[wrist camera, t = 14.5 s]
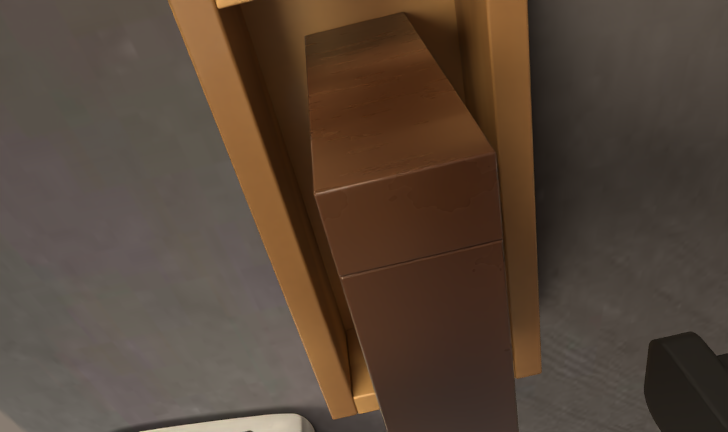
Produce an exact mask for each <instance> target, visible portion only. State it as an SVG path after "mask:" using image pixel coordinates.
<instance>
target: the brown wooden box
mask: <svg viewBox="0 0 728 432" xmlns="http://www.w3.org/2000/svg"><path fill="white" fill-rule="evenodd" d="M304 38H305V55H306V72H307V89H308V106H309V123H310V139H311V156H312V173H313V190H314V198H315V201H316V204H317V207H318V211H319V214H320V217H321V220H322V224H323V227H324V230H325V233H326V237H327V240H328V243H329V246H330V249H331V253H332V256H333V259H334V262H335V266H336V269H337V272H338V275H339V278H340V281H341V285H342V288H343V291H344V294H345V298H346V301H347V304H348V307H349V310H350V314H351V317H352V320H353V323H354V327H355V330H356V333H357V336H358V340H359V343H360V346H361V349H362V352H363V356H364V359H365V362H366V365H367V369H368V372H369V375H370V378H371V382H372V385H373V388H374V391H375V395H376V398H377V401H378V404H379V407H380V411H381V414H382V417H383V420H384V424H385V427H386V430H387V432H519V427H518V415H517V403H516V390H515V378H514V366H513V354H512V342H511V330H510V318H509V306H508V294H507V281H506V269H505V257H504V245H503V239H502V238H503V230H502V218H501V205H500V193H499V181H498V169H497V157H496V152H495V150H494V148H493V147H492V145H491V144H490V142H489V141H488V139H487V138H486V136H485V135H484V133H483V132H482V130H481V129H480V127H479V126H478V124H477V123H476V121H475V120H474V118H473V117H472V115H471V114H470V112H469V111H468V109H467V108H466V106H465V105H464V103H463V102H462V100H461V99H460V97H459V96H458V94H457V93H456V91H455V90H454V88H453V87H452V85H451V83H450V82H449V80H448V79H447V77H446V76H445V74H444V73H443V71H442V70H441V68H440V67H439V65H438V64H437V62H436V61H435V59H434V58H433V56H432V55H431V53H430V52H429V50H428V49H427V47H426V46H425V44H424V43H423V41H422V40H421V38H420V37H419V35H418V34H417V32H416V31H415V29H414V28H413V26H412V25H411V23H410V22H409V20H408V18H407V17H406V15H405V14H404V12H401V13H396V14H392V15H388V16H384V17H380V18H376V19H372V20H368V21H364V22H360V23H356V24H351V25H347V26H343V27H339V28H335V29H331V30H327V31H323V32H319V33H315V34H311V35H306V36H305V37H304Z"/></svg>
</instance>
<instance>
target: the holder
mask: <svg viewBox="0 0 728 432" xmlns="http://www.w3.org/2000/svg"><path fill="white" fill-rule="evenodd" d="M168 2H169V5H170V7H171V10H172V12H173V15H174V17H175V20H176V22H177V25H178V27H179V30H180V32H181V35H182V38H183V40H184V43H185V45H186V48H187V50H188V53H189V55H190V58H191V60H192V63H193V66H194V68H195V71H196V73H197V76H198V78H199V81H200V83H201V86H202V88H203V91H204V94H205V96H206V99H207V101H208V104H209V106H210V109H211V111H212V114H213V116H214V119H215V121H216V124H217V127H218V129H219V132H220V134H221V137H222V139H223V142H224V144H225V147H226V149H227V152H228V155H229V157H230V160H231V162H232V165H233V167H234V170H235V172H236V175H237V177H238V180H239V183H240V185H241V188H242V190H243V193H244V195H245V198H246V200H247V203H248V205H249V208H250V210H251V213H252V216H253V218H254V221H255V223H256V226H257V228H258V231H259V233H260V236H261V238H262V241H263V244H264V246H265V249H266V251H267V254H268V256H269V259H270V261H271V264H272V266H273V269H274V272H275V274H276V277H277V279H278V282H279V284H280V287H281V289H282V292H283V294H284V297H285V299H286V302H287V305H288V307H289V310H290V312H291V315H292V317H293V320H294V322H295V325H296V327H297V330H298V333H299V335H300V338H301V340H302V343H303V345H304V348H305V350H306V353H307V355H308V358H309V361H310V363H311V366H312V368H313V371H314V373H315V376H316V378H317V381H318V383H319V386H320V388H321V391H322V394H323V396H324V399H325V401H326V404H327V406H328V409H329V411H330V414H331V416H332V418H333V419H339V418H343V417H348V416H352V415H356V414H357V413H359V414H362V413H366V412H371V411H375V410H380V407H379V404H378V401H377V398H376V395H375V391H374V388H373V385H372V382H371V378H370V375H369V372H368V369H367V365H366V362H365V359H364V356H363V352H362V349H361V346H360V343H359V340H358V336H357V333H356V330H355V327H354V323H353V320H352V317H351V314H350V310H349V307H348V304H347V301H346V298H345V294H344V291H343V288H342V285H341V281H340V278H339V275H338V272H337V269H336V266H335V262H334V259H333V256H332V253H331V249H330V246H329V243H328V240H327V237H326V233H325V230H324V227H323V224H322V220H321V217H320V214H319V211H318V207H317V204H316V201H315V198H314V190H313V173H312V156H311V139H310V123H309V106H308V89H307V72H306V55H305V38H304V37H305V36H306V35H311V34H315V33H319V32H323V31H327V30H331V29H335V28H339V27H343V26H347V25H351V24H356V23H360V22H364V21H368V20H372V19H376V18H380V17H384V16H388V15H392V14H396V13H401V12H404V14H405V15H406V17H407V18H408V20H409V22H410V23H411V25H412V26H413V28H414V29H415V31H416V32H417V34H418V35H419V37H420V38H421V40H422V41H423V43H424V44H425V46H426V47H427V49H428V50H429V52H430V53H431V55H432V56H433V58H434V59H435V61H436V62H437V64H438V65H439V67H440V68H441V70H442V71H443V73H444V74H445V76H446V77H447V79H448V80H449V82H450V83H451V85H452V87H453V88H454V90H455V91H456V93H457V94H458V96H459V97H460V99H461V100H462V102H463V103H464V105H465V106H466V108H467V109H468V111H469V112H470V114H471V115H472V117H473V118H474V120H475V121H476V123H477V124H478V126H479V127H480V129H481V130H482V132H483V133H484V135H485V136H486V138H487V139H488V141H489V142H490V144H491V145H492V147H493V148H494V150H495V152H496V157H497V169H498V181H499V193H500V205H501V218H502V230H503V238H502V239H503V245H504V257H505V269H506V281H507V294H508V306H509V318H510V330H511V342H512V354H513V366H514V378H515V377H516V378H517V379H518V378H523V377H527V376H532V375H536V374H540V373H541V372H542V367H541V341H540V315H539V289H538V263H537V237H536V211H535V185H534V159H533V133H532V107H531V80H530V54H529V28H528V2H527V0H168Z"/></svg>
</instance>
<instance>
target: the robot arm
mask: <svg viewBox="0 0 728 432" xmlns="http://www.w3.org/2000/svg"><path fill="white" fill-rule="evenodd" d="M644 394H645V399H646V403H647V406H648V409H649V411H650V413H651V415H652V417H653V419H654V421H655V422H656V424H657V425H658V427H659V429H660V430H661V432H728V354H723V355H719V356H716V355H715V354H714V352H713V351H712V350H711V349H710V348H709V347H708V345H707V344H706V343H705V342H704V341H703V340H702V338H701V337H700V336H698V335H697V334H696V333H694V332H686V333H681V334H677V335H672V336H668V337H664V338H659V339H655V340H652V341H651V342H650V344H649V349H648V358H647V366H646V375H645V383H644ZM245 432H253V431H251V430H249V431H245Z"/></svg>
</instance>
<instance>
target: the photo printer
mask: <svg viewBox="0 0 728 432" xmlns="http://www.w3.org/2000/svg"><path fill="white" fill-rule="evenodd" d="M249 430H251V431H253V432H315V431H314V428H313V426H312V425H311V423H310V422H309V421H308V420H307V419H306V418H304V417H303V416H300V415H298V414H294V413H286V414H270V415H260V416H251V417H243V418H234V419H225V420H218V421H210V422H202V423H195V424H187V425H180V426H173V427H167V428H159V429H153V430H146V431H140V432H245V431H249Z"/></svg>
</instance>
